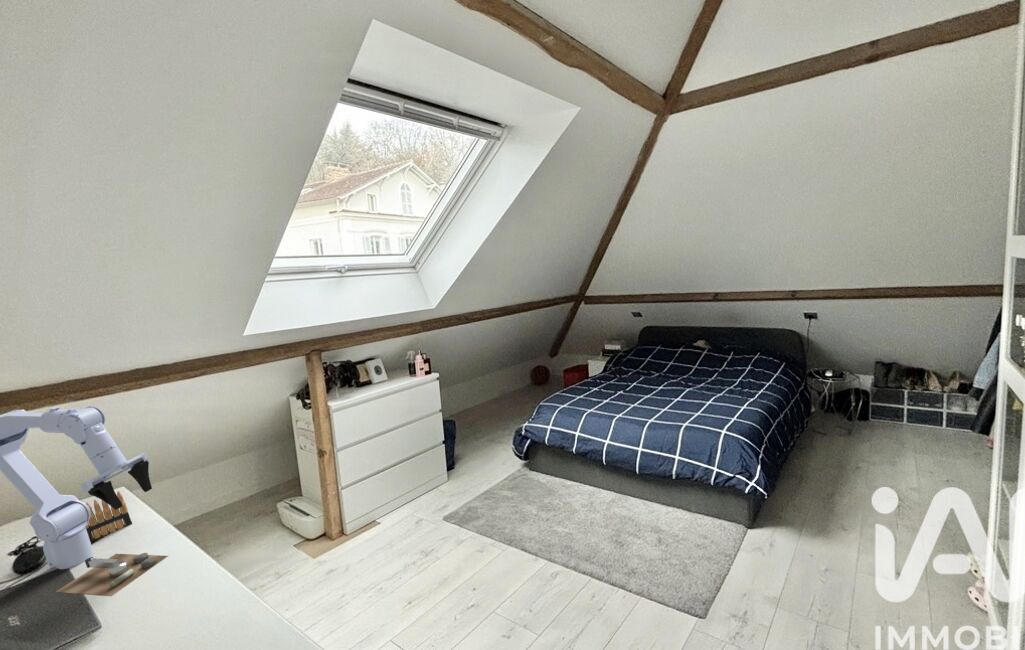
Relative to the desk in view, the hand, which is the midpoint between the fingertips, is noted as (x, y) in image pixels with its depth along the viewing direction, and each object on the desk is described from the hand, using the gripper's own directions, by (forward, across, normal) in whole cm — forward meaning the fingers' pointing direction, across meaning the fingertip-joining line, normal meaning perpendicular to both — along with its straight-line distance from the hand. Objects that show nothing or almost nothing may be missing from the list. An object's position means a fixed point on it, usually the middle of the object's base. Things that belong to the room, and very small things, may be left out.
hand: (134, 499), depth 121 cm
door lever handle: (+13, -7, +11) cm, 18 cm away
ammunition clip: (+7, +9, +32) cm, 34 cm away
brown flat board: (+15, -7, +10) cm, 19 cm away
